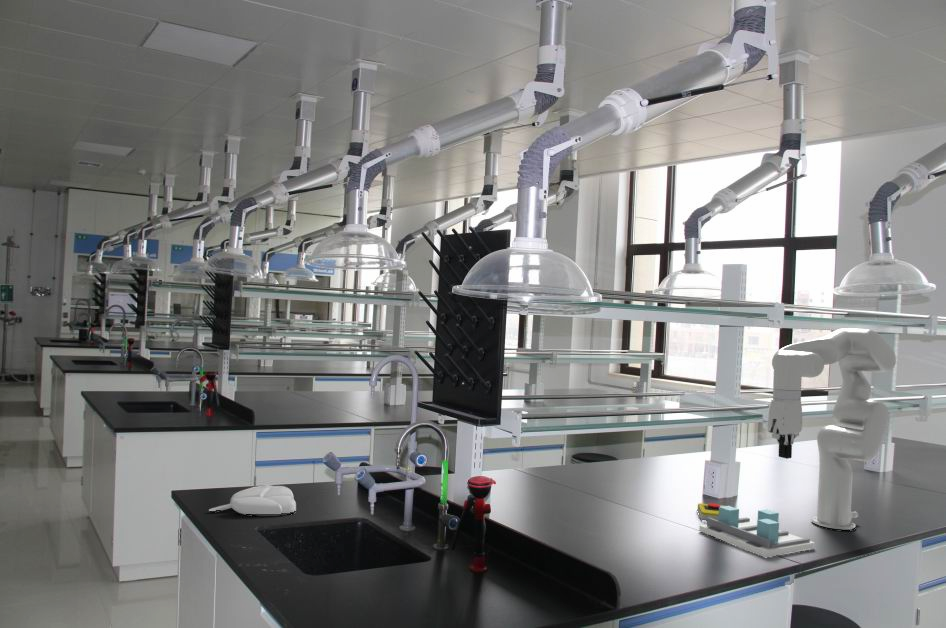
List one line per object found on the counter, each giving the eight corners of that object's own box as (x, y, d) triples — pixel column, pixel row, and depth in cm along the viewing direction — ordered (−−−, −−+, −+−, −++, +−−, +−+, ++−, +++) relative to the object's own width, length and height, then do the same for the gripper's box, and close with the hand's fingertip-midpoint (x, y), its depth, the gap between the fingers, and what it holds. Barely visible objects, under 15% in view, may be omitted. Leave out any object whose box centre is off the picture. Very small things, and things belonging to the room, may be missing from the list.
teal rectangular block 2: (766, 537, 204) (767, 518, 204) (778, 542, 200) (779, 522, 200) (756, 539, 202) (757, 520, 202) (768, 543, 199) (769, 524, 199)
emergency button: (725, 500, 238) (733, 513, 224) (725, 514, 238) (732, 527, 224) (696, 498, 240) (702, 510, 225) (696, 511, 240) (701, 524, 225)
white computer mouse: (300, 515, 214) (211, 530, 204) (290, 501, 230) (207, 514, 220) (299, 493, 214) (210, 506, 204) (289, 480, 230) (206, 492, 220)
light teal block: (766, 527, 214) (767, 509, 214) (777, 531, 211) (778, 512, 211) (757, 529, 212) (758, 510, 212) (768, 533, 209) (769, 514, 209)
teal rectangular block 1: (727, 523, 216) (728, 505, 216) (738, 527, 213) (739, 509, 213) (718, 525, 214) (718, 506, 214) (728, 529, 211) (729, 510, 211)
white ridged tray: (746, 525, 224) (746, 511, 224) (814, 549, 203) (815, 534, 203) (699, 532, 215) (699, 517, 215) (765, 558, 194) (766, 542, 194)
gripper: (792, 392, 217) (790, 452, 218) (759, 394, 210) (757, 457, 210) (814, 395, 211) (812, 457, 211) (781, 398, 203) (779, 462, 204)
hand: (784, 457), depth 211 cm, fingers closed
